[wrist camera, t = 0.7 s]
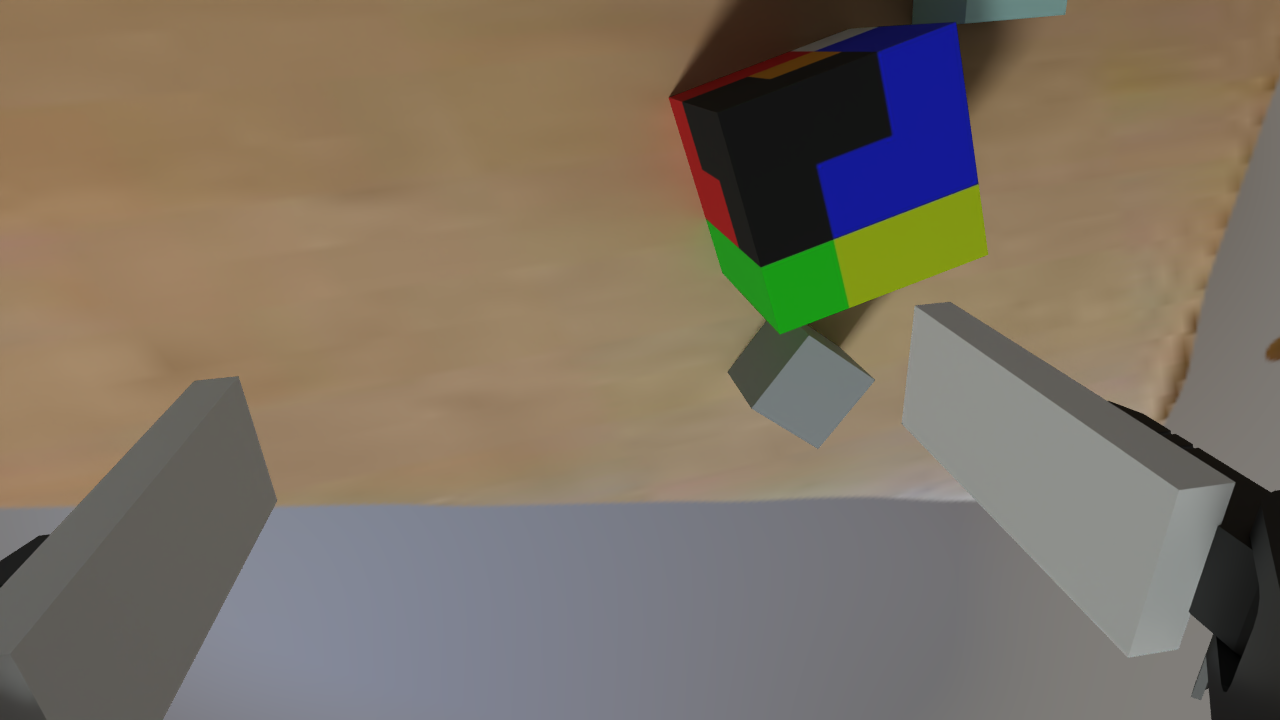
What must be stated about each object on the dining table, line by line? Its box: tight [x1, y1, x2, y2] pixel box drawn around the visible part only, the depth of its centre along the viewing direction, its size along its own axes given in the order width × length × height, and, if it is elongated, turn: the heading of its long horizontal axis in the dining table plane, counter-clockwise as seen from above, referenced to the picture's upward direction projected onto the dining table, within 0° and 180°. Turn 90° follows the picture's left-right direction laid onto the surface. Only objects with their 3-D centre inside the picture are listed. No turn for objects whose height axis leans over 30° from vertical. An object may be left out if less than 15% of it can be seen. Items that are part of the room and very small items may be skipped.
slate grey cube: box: [728, 321, 875, 449], centre depth 42 cm, size 5×5×5 cm
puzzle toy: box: [669, 22, 988, 335], centre depth 35 cm, size 10×10×10 cm
